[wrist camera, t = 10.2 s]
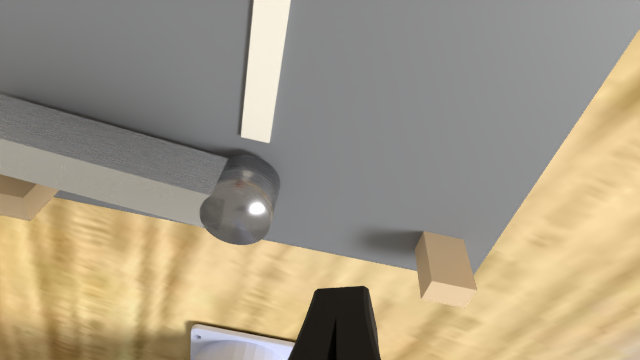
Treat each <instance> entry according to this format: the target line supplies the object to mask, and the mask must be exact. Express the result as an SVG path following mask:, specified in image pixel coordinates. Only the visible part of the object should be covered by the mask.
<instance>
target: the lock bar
mask: <svg viewBox="0 0 640 360" xmlns="http://www.w3.org/2000/svg"><path fill="white" fill-rule="evenodd" d="M0 174H2V175H5V176H9V177H13V178H17V179H20V180H24V181H28V182H32V183H36V184H39V185H43V186H47V187H51V188H55V189H58V190H62V191H66V192H70V193H74V194H77V195H81V196H85V197H89V198H92V199H96V200H100V201H104V202H108V203H111V204H115V205H119V206H123V207H127V208H130V209H134V210H138V211H142V212H146V213H149V214H153V215H157V216H161V217H165V218H168V219H172V220H176V221H180V222H183V223H187V224H191V225H195V226H199V227H202V228H206V230H207V231H208V232H209V233H210V234H212V235H213V236H215V237H216V238H218V239H220V240H222V241H224V242H227V243H231V244H237V245H247V244H252V243H256V242H258V241H260V240H261V239H263V238H264V237H265V236H266V235H267V233H268V231H269V228H270V225H271V221H272V217H273V213H274V209H275V206H276V202H277V198H278V194H279V190H280V178H279V176H278V173H277V172H276V170H275V169H274V168H273V167H272V166H271V165H270V164H269V163H267V162H266V161H264V160H263V159H260V158H258V157H255V156H251V155H237V156H233V157H230V158H224V157H221V156H217V155H214V154H210V153H207V152H203V151H199V150H196V149H192V148H189V147H185V146H182V145H178V144H175V143H171V142H168V141H164V140H161V139H157V138H154V137H150V136H146V135H143V134H139V133H136V132H132V131H129V130H125V129H122V128H118V127H115V126H111V125H108V124H104V123H101V122H97V121H93V120H90V119H86V118H83V117H79V116H76V115H72V114H69V113H65V112H62V111H58V110H55V109H51V108H48V107H44V106H41V105H37V104H33V103H30V102H26V101H23V100H19V99H16V98H12V97H9V96H5V95H2V94H0Z"/></svg>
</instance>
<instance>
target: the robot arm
mask: <svg viewBox="0 0 640 360" xmlns="http://www.w3.org/2000/svg"><path fill="white" fill-rule="evenodd" d="M190 360H381V358H380V354H379V346H378V336H377V327H376V322H375V318H374V313H373V308H372V303H371V298H370V294H369V289H368V288H366V287H364V286H356V287H340V288H324V289H317V290H316V291H315V292H314V295H313V298H312V301H311V304H310V307H309V310H308V312H307V315H306V318H305V320H304V323H303V325H302V328H301V330H300V333H299V335H298V338H297V340H296V342H295V343H294V342H289V341H284V340H278V339H273V338H268V337H263V336H257V335H252V334H247V333H242V332H237V331H231V330H226V329H221V328H216V327H211V326H205V325H200V324H195V325H193V326H192V329H191V348H190Z"/></svg>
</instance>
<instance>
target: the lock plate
mask: <svg viewBox="0 0 640 360" xmlns="http://www.w3.org/2000/svg"><path fill="white" fill-rule="evenodd" d="M639 29H640V0H0V94H2V95H5V96H9V97H12V98H16V99H19V100H23V101H26V102H30V103H33V104H37V105H41V106H44V107H48V108H51V109H55V110H58V111H62V112H65V113H69V114H72V115H76V116H79V117H83V118H86V119H90V120H93V121H97V122H101V123H104V124H108V125H111V126H115V127H118V128H122V129H125V130H129V131H132V132H136V133H139V134H143V135H146V136H150V137H154V138H157V139H161V140H164V141H168V142H171V143H175V144H178V145H182V146H185V147H189V148H192V149H196V150H199V151H203V152H207V153H210V154H214V155H217V156H221V157H224V158H230V157H233V156H237V155H251V156H255V157H258V158H260V159H263V160H264V161H266V162H267V163H269V164H270V165H271V166H272V167H273V168H274V169H275V170H276V172H277V173H278V176H279V178H280V190H279V194H278V198H277V202H276V206H275V209H274V213H273V217H272V221H271V225H270V228H269V231H268V233H267V235H266V236H265V237H264V238H263V240H268V241H273V242H278V243H283V244H287V245H292V246H297V247H302V248H307V249H312V250H317V251H322V252H327V253H332V254H336V255H341V256H346V257H351V258H356V259H361V260H366V261H371V262H376V263H381V264H385V265H390V266H395V267H400V268H405V269H410V270H415V271H418V279H419V286H420V294H421V299H422V300H427V301H432V302H437V303H442V304H447V305H452V306H457V307H462V308H465V307H466V306H467V304H468V303H469V301H470V300H471V299H472V297H473V296H474V294H475V293H476V291H477V287H476V284H475V280H474V276H473V275H474V274H475V272H476V271H477V269H478V268H479V266H480V265H481V263H482V262H483V260H484V259H485V258H486V256H487V255H488V253H489V252H490V250H491V249H492V247H493V246H494V244H495V243H496V241H497V240H498V238H499V237H500V235H501V234H502V232H503V231H504V229H505V228H506V226H507V225H508V223H509V222H510V220H511V219H512V217H513V216H514V214H515V213H516V212H517V210H518V209H519V207H520V206H521V204H522V203H523V201H524V200H525V198H526V197H527V195H528V194H529V192H530V191H531V189H532V188H533V186H534V185H535V183H536V182H537V180H538V179H539V177H540V176H541V174H542V173H543V171H544V170H545V168H546V167H547V166H548V164H549V163H550V161H551V160H552V158H553V157H554V155H555V154H556V152H557V151H558V149H559V148H560V146H561V145H562V143H563V142H564V140H565V139H566V137H567V136H568V134H569V133H570V131H571V130H572V128H573V127H574V125H575V124H576V122H577V121H578V120H579V118H580V117H581V115H582V114H583V112H584V111H585V109H586V108H587V106H588V105H589V103H590V102H591V100H592V99H593V97H594V96H595V94H596V93H597V91H598V90H599V88H600V87H601V85H602V84H603V82H604V81H605V79H606V78H607V76H608V75H609V74H610V72H611V71H612V69H613V68H614V66H615V65H616V63H617V62H618V60H619V59H620V57H621V56H622V54H623V53H624V51H625V50H626V48H627V47H628V45H629V44H630V42H631V41H632V39H633V38H634V36H635V35H636V33H637V32H638V30H639ZM53 197H57V198H62V199H67V200H72V201H77V202H82V203H87V204H92V205H97V206H101V207H106V208H111V209H116V210H121V211H126V212H131V213H136V214H141V215H145V216H150V217H155V218H160V219H165V220H170V221H175V222H180V221H176V220H172V219H168V218H165V217H161V216H157V215H153V214H149V213H146V212H142V211H138V210H134V209H130V208H127V207H123V206H119V205H115V204H111V203H108V202H104V201H100V200H96V199H92V198H89V197H85V196H81V195H77V194H74V193H70V192H66V191H62V190H58V189H55V188H51V187H47V186H43V185H39V184H36V183H32V182H28V181H24V180H20V179H17V178H13V177H9V176H5V175H2V174H0V215H3V216H8V217H13V218H18V219H23V220H28V221H31V220H32V219H33V218H34V216H35V215H36V214H37V213H38V212H39V211H40V210H41V209H42V208H43V207H44V206H45V205H46V204H47V203H48V202H49V201H50V200H51V199H52V198H53ZM180 223H183V222H180ZM185 224H187V223H185ZM190 225H191V224H190ZM194 226H195V225H194Z"/></svg>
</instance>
